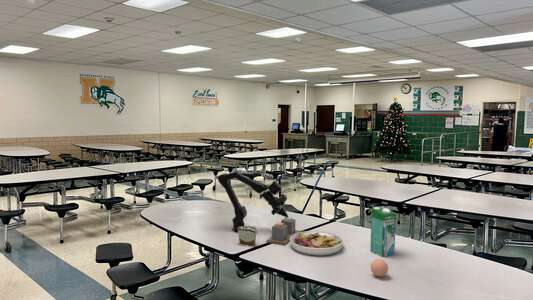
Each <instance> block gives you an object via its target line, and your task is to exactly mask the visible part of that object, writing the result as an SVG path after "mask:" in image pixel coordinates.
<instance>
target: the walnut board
mask: <svg viewBox="0 0 533 300" xmlns="http://www.w3.org/2000/svg"><path fill="white" fill-rule="evenodd" d="M300 232H301V230H297V229H295V232H294V233H293V234H292V235H294V234H296V233H300ZM292 235H290V234H287V239H285V240H284V241H277V240H272V236H271V237H269V238H267V239H266V241H265V242H266V243H267V242H269V243H268V244H273V245H280V246H287V244H289V243H290V237H291V236H292Z"/></svg>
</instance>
